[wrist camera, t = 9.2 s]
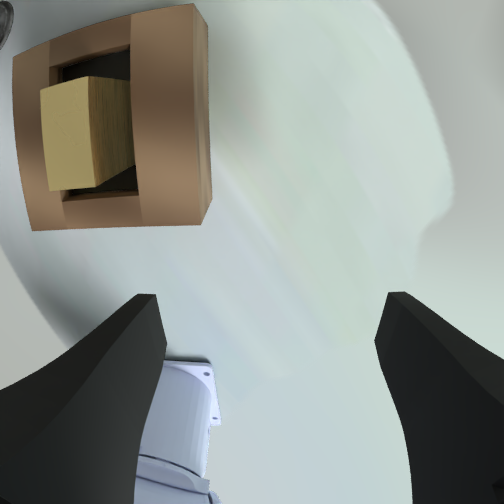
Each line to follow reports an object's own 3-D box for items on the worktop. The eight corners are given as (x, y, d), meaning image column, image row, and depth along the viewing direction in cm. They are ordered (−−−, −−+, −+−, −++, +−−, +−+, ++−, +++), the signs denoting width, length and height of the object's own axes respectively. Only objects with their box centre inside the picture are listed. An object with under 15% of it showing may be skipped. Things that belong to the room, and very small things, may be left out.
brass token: (144, 159, 16) (95, 187, 11) (107, 162, 16) (49, 191, 11) (141, 82, 14) (87, 76, 9) (102, 89, 14) (40, 89, 9)
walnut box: (212, 198, 17) (200, 225, 14) (66, 207, 17) (32, 231, 14) (207, 25, 13) (193, 3, 9) (53, 60, 13) (13, 57, 9)
